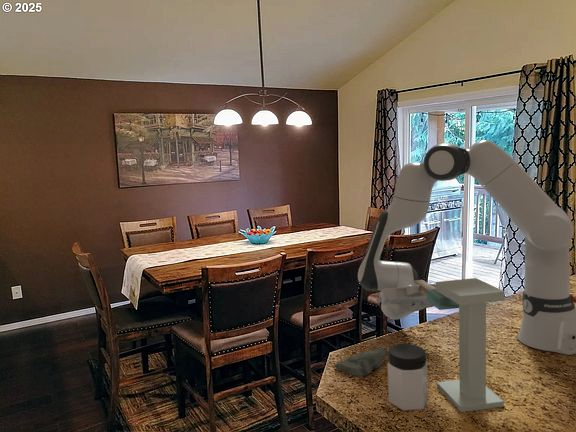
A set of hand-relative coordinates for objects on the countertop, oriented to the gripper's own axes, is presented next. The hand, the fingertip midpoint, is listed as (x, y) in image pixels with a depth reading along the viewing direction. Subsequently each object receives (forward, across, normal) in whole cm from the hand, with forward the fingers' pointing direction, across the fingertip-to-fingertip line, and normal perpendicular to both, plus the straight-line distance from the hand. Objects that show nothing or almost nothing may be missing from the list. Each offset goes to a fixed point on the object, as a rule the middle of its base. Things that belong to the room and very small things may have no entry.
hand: (425, 287), depth 122 cm
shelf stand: (+9, 0, +28) cm, 29 cm away
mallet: (+3, 0, +4) cm, 5 cm away
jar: (+8, -14, +27) cm, 32 cm away
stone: (-10, -17, +18) cm, 26 cm away
